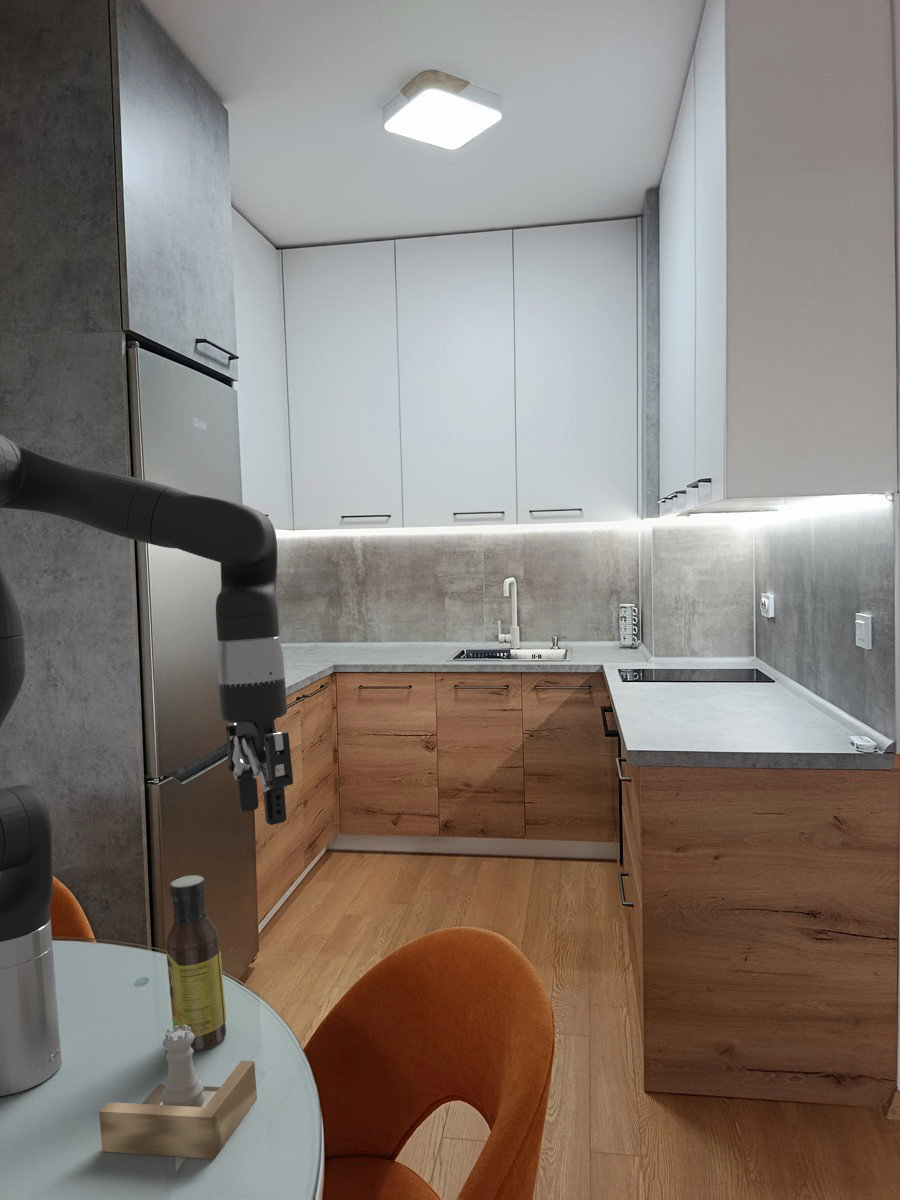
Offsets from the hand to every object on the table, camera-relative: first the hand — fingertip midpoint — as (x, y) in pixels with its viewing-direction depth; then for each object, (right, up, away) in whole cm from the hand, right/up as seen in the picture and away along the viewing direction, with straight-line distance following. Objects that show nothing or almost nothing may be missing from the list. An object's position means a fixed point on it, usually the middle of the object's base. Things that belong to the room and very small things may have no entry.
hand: (262, 816), depth 100 cm
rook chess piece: (-6, -28, -9) cm, 31 cm away
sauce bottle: (-9, -29, +5) cm, 31 cm away
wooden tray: (-6, -29, -11) cm, 31 cm away
